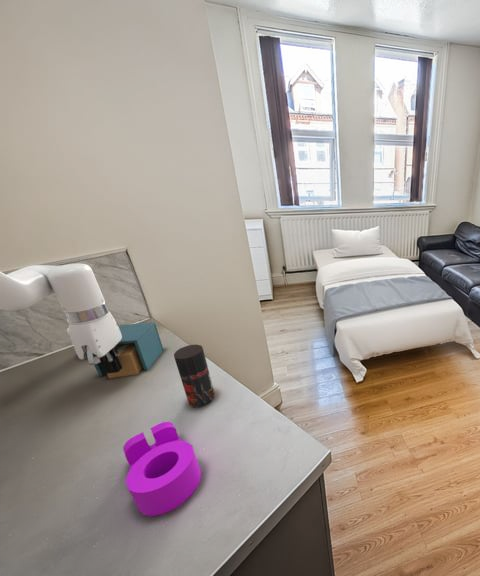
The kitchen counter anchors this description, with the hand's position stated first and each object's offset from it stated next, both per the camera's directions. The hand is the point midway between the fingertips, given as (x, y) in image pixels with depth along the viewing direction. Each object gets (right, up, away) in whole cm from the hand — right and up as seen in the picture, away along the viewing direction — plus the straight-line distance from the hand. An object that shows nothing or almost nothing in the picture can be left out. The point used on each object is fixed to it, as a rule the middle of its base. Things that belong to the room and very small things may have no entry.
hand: (114, 370), depth 79 cm
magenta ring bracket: (+32, -14, -23) cm, 42 cm away
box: (-2, -1, +7) cm, 7 cm away
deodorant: (+27, -6, -4) cm, 28 cm away
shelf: (-3, 0, +10) cm, 10 cm away
